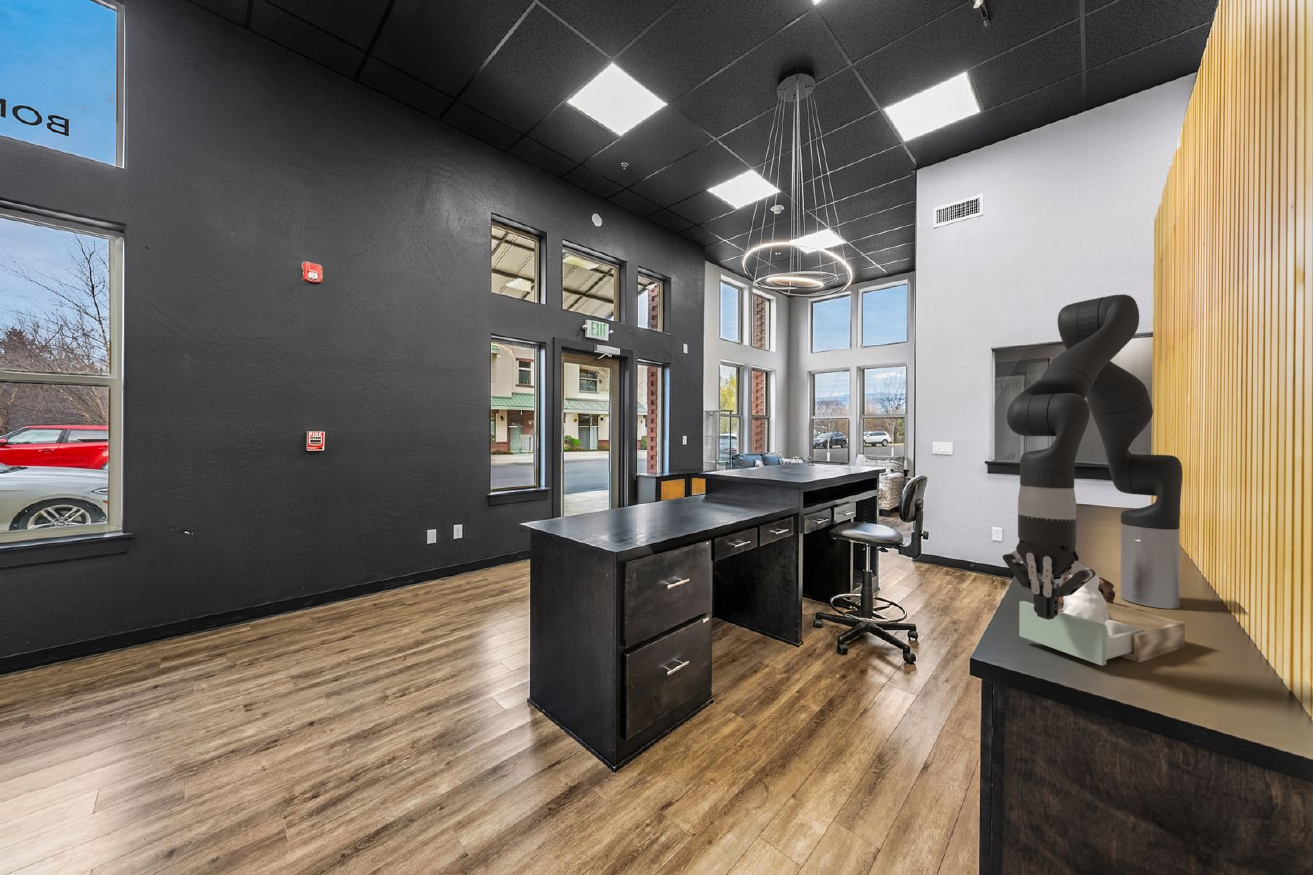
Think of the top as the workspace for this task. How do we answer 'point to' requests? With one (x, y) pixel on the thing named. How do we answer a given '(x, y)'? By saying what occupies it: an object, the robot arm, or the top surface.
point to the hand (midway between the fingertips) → (1045, 617)
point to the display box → (1148, 632)
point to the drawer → (1077, 634)
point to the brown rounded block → (1103, 588)
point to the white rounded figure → (1088, 603)
